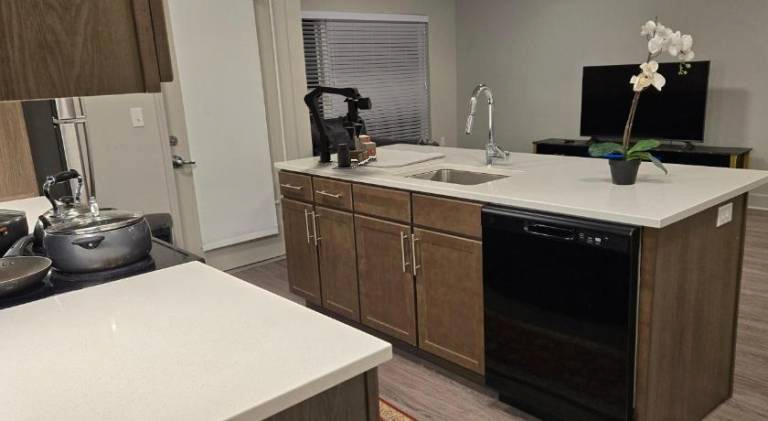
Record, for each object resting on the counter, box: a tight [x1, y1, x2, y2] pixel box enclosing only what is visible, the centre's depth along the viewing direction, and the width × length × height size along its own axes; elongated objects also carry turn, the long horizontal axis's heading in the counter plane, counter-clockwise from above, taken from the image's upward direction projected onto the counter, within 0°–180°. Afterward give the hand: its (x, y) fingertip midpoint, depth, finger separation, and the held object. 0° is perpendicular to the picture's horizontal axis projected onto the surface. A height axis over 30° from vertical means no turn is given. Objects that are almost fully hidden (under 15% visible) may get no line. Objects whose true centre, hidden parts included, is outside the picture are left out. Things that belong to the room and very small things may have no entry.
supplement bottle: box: [336, 143, 352, 168], centre depth 305 cm, size 7×7×12 cm
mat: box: [332, 164, 356, 170], centre depth 306 cm, size 10×10×1 cm
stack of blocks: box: [354, 134, 377, 156], centre depth 337 cm, size 21×6×12 cm, turn 19°
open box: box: [336, 150, 369, 164], centre depth 316 cm, size 14×13×6 cm
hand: (354, 138), depth 320 cm, fingers open, 9 cm apart
